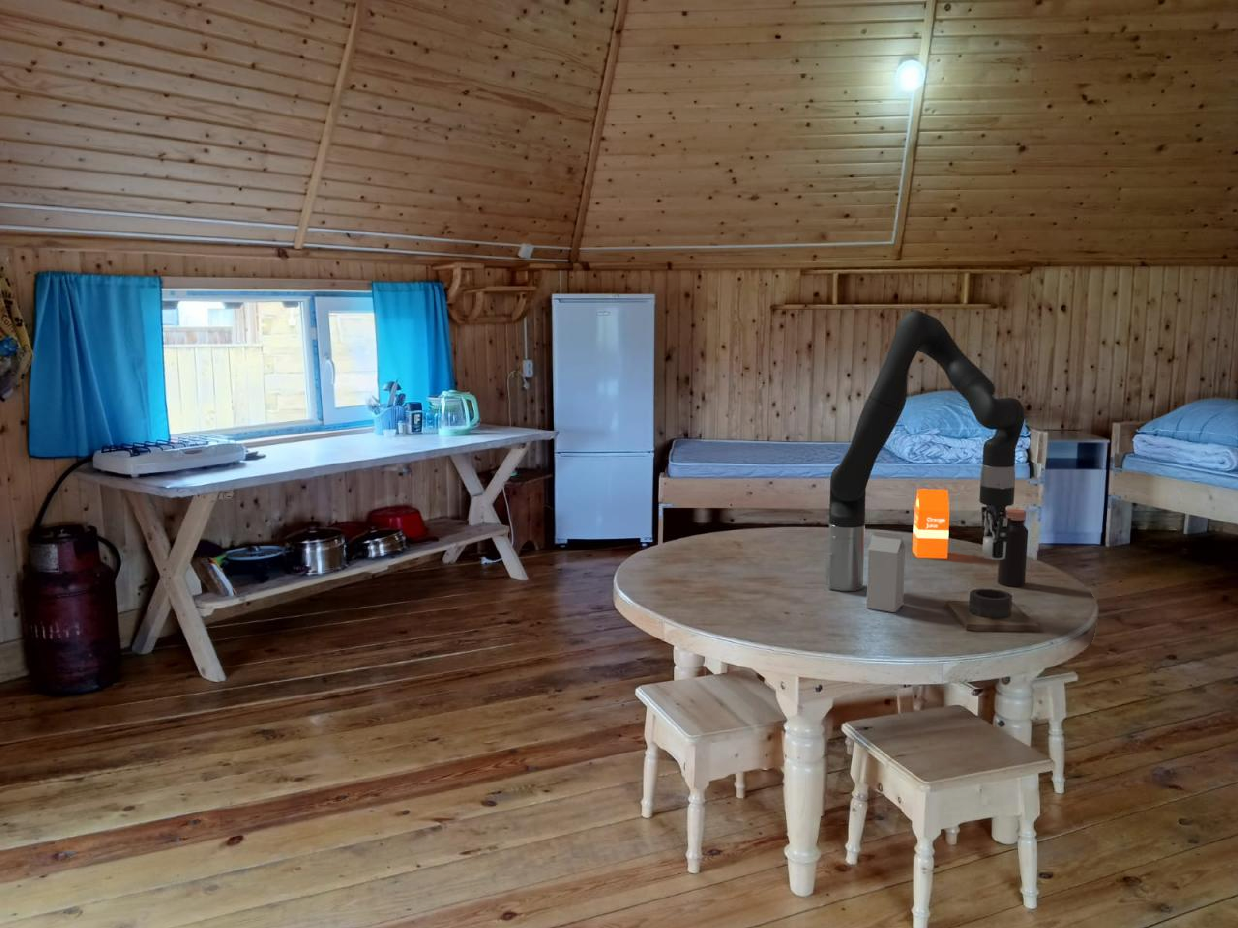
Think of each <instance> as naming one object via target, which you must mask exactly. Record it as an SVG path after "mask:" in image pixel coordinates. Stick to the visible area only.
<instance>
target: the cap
mask: <svg viewBox="0 0 1238 928" xmlns="http://www.w3.org/2000/svg"><path fill="white" fill-rule="evenodd" d="M992 549H993V536H985V535H984V536H983V539H982V558H984V559H988V560H993V561H995V560H996V561H997V560H998V561H999V560H1001V559H1005V549H1006V542H1003V557H1002V558H994V557H993V556H992Z"/></svg>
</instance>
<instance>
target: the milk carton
mask: <svg viewBox="0 0 1238 928" xmlns="http://www.w3.org/2000/svg"><path fill="white" fill-rule="evenodd" d="M872 533H873V534H872V538H871V540H870V544H869V546H868V549H867V551H868V554H867V556H868V557H867V580H866V582H867V583H866V608H867V609H870V610H871V609H872V610H877V611H885V612H890V613H895V612H897V611H898V610H899V609H900V608H901V607H902V606H903V605H904V592H905V591H904V590H905V589H904V588H905V585H904V583H905V568H906V567H905V565H906V564H905V563H906V562H905V561H906V545H905V542H904V539H903V533H897V532H896V533H895V532H889V531H879V530H873V531H872Z"/></svg>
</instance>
